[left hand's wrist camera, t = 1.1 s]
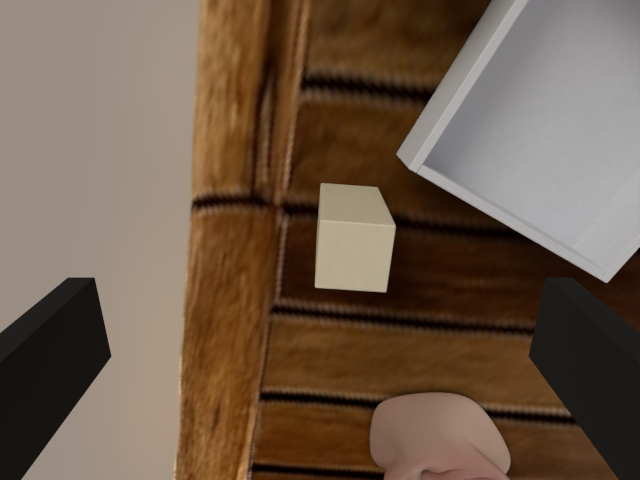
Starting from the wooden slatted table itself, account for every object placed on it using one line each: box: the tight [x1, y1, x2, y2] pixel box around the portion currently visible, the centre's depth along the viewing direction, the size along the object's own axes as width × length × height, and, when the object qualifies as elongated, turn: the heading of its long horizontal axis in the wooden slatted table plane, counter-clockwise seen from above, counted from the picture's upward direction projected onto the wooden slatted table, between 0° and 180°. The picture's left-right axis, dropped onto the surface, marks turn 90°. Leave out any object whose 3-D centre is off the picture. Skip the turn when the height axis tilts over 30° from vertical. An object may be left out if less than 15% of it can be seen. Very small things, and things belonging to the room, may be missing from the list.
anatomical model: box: [370, 392, 510, 480], centre depth 36 cm, size 13×4×12 cm
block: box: [315, 183, 396, 292], centre depth 27 cm, size 4×4×8 cm
